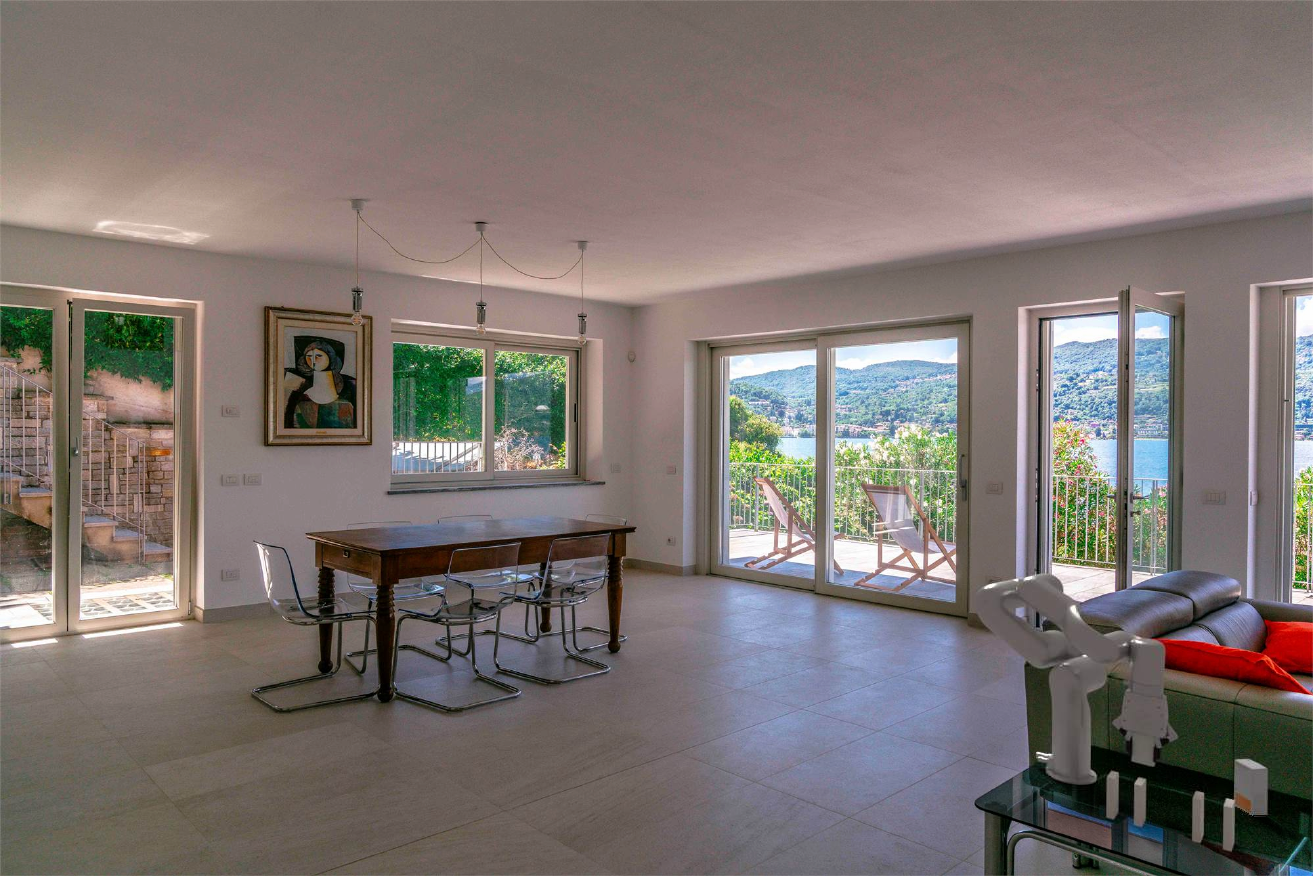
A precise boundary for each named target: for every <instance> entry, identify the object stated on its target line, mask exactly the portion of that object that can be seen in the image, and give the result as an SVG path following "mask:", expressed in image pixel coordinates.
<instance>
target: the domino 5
mask: <svg viewBox="0 0 1313 876" xmlns="http://www.w3.org/2000/svg"><path fill="white" fill-rule="evenodd" d="M1235 810H1236V806H1235V800H1234V799H1232V798H1231V799H1230V798H1225V800H1224V804H1223V821H1222V822H1223V827H1222V828H1223V829H1222V830H1223V831H1222V833H1223V836H1222V837H1223V839H1222V850H1224V851H1228V852H1231V853H1232V852H1233V851H1232V850H1233V848H1234V845H1235V821H1236V820H1235V817H1236V815H1235V814H1236V813H1235Z"/></svg>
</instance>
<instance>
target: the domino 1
mask: <svg viewBox="0 0 1313 876" xmlns="http://www.w3.org/2000/svg"><path fill="white" fill-rule="evenodd" d="M1119 776H1120V775H1119V772H1118V771H1114V770H1110V772H1109V774H1107V777H1106V816H1105V817H1106V818H1108V819H1111V820H1115V818H1116V817H1117V815H1118V814H1119V788H1120V787H1119V783H1120V782H1119V778H1120V777H1119Z"/></svg>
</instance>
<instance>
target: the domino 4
mask: <svg viewBox="0 0 1313 876" xmlns="http://www.w3.org/2000/svg"><path fill="white" fill-rule="evenodd" d="M1204 806H1205V793H1204V792H1201V791H1197V790H1195V792H1194V795H1193V796H1192V821H1191V822H1192V827H1191V828H1192V830H1191V831H1192V832H1191V836H1192V837H1191V840H1192V842H1195V843H1199V844H1201V842H1202V840H1203V838H1204V832H1205V831H1204V830H1205V829H1204V825H1205V823H1204V818H1205V807H1204Z"/></svg>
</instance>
